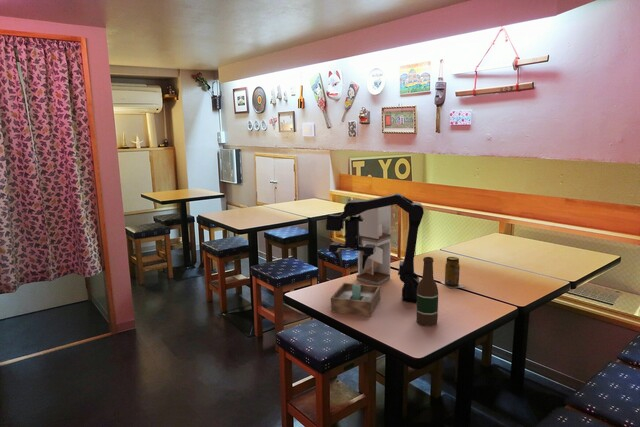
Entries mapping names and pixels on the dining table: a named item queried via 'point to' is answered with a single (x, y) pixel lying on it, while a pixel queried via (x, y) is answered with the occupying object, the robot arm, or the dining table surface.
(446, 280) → the condiment
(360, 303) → the box
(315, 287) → the dining table surface
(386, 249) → the display case
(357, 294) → the peg
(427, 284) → the beer bottle
